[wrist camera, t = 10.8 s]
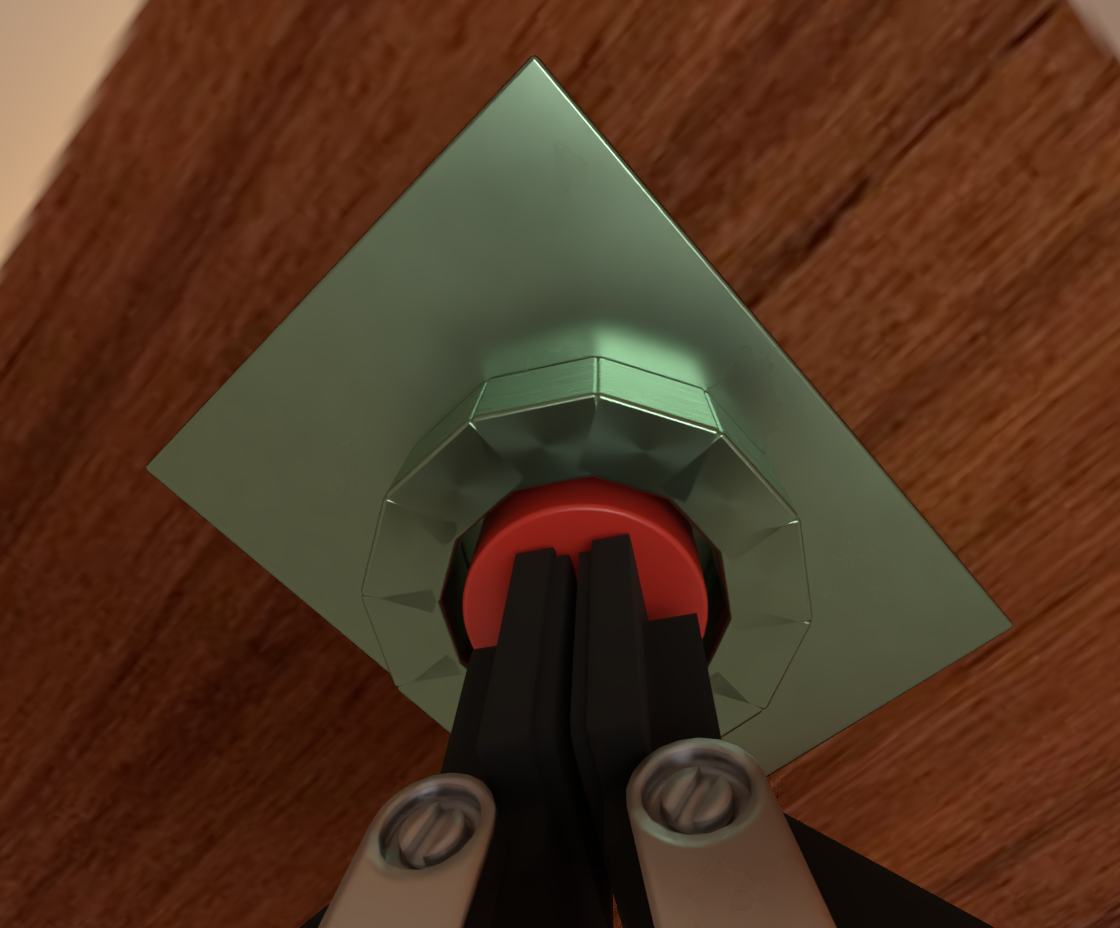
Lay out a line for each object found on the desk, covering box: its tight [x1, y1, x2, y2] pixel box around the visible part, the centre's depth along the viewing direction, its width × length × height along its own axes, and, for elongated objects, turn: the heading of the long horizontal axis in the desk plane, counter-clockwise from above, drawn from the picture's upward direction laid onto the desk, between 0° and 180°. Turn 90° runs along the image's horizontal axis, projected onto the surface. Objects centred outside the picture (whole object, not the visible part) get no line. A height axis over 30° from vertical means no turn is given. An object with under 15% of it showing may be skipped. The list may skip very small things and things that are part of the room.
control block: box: [146, 55, 1013, 777], centre depth 13 cm, size 12×9×4 cm
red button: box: [462, 477, 708, 650], centre depth 12 cm, size 4×4×2 cm
